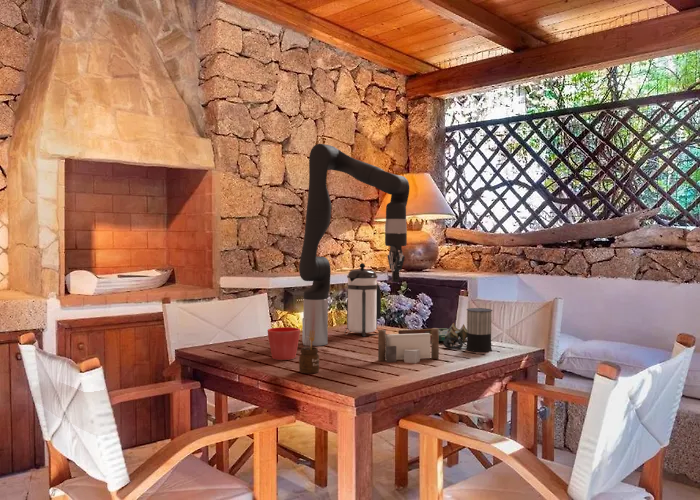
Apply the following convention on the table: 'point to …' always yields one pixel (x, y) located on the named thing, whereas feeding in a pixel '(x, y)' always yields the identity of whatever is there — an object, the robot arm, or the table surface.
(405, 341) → the panel
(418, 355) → the block
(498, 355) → the table surface
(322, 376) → the table surface
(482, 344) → the milk frother
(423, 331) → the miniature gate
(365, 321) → the coffee press
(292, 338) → the flower pot
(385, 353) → the gate posts
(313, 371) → the jar with wooden spoon
